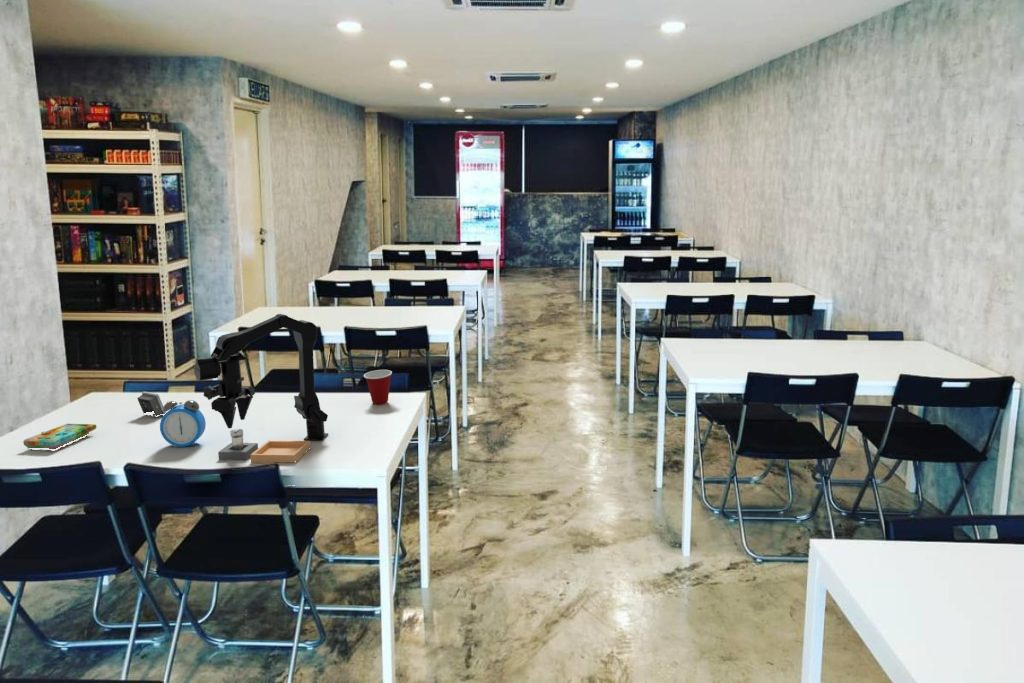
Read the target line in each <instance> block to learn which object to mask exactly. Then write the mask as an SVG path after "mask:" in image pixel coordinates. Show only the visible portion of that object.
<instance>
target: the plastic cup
mask: <svg viewBox="0 0 1024 683" xmlns="http://www.w3.org/2000/svg"><path fill="white" fill-rule="evenodd" d="M392 373H393V371H392V370H389V369H377V370H376V369H375V370H371V371H368V372H366V373H364V374H363V377H364V379H365V380H366V383H367V387H368V391H369V395H370V398H371V403H372V405H375V404H376V405H378V406H381V404H382V405H386V404H388V401H389V394H390V385H391V378H392V377H391V376H392Z"/></svg>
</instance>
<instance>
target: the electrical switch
mask: <svg viewBox="0 0 1024 683" xmlns="http://www.w3.org/2000/svg"><path fill="white" fill-rule="evenodd" d="M136 399H137V402H138V404H139V405H140V408H141V411H142V413H143V414H144V413H146V412H152V411H154V413H155V415H156V416H157V415H160V414H165V413H167V411H166V412H164V411H163V407H164V404H163V403H162V400H161V397H160V395H159V394H158V393H154V392H149V391H142V392H141V395H140V396H137V397H136Z"/></svg>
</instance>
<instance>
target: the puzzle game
mask: <svg viewBox="0 0 1024 683" xmlns="http://www.w3.org/2000/svg"><path fill="white" fill-rule="evenodd" d="M96 429H97V424H92V423H91V424H89V423H64V424H62V425H59V426H55V427H53V428H51V429H49V430H46V431H41V433H39V434H36V435H32V436H31V437H28V438H26V439H24V440H23V441H22V442H23V445H24V447H26V448H27V449H29V448H49V449H56V448H58V447H60V446H63V445H64V444H67V443H69V442H71V441H74V440H76V439H78V438H80V437H83V436H85V435H87V434H90V432H92V431H94V430H96Z"/></svg>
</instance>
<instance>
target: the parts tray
mask: <svg viewBox="0 0 1024 683" xmlns="http://www.w3.org/2000/svg"><path fill="white" fill-rule="evenodd" d="M310 447H311V440H267V441H266V442H264V444H262V445H261V446H260V447H258V449H257V450H256V451H255V452H253V453H252V454H251V455H250V456H251V457H250V463H252V464H253V463H256V464H258V463H261V464H267V463H268V464H269V463H271V464H273V463H274V462H295V461H297V460H298V459H299V458H300V457H301V456H302V455H303V454H304V453H305V452H306V451H307V450H308V449H309V448H310ZM308 451H309V450H308ZM308 451H307V452H308ZM307 452H306V453H307ZM306 453H305V454H306ZM305 454H304V455H305ZM304 455H303V456H304ZM303 456H302V457H303ZM302 457H301V458H302ZM301 458H300V459H301ZM300 459H299V460H300ZM299 460H298V461H299ZM298 461H297V462H298ZM274 464H275V463H274Z"/></svg>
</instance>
